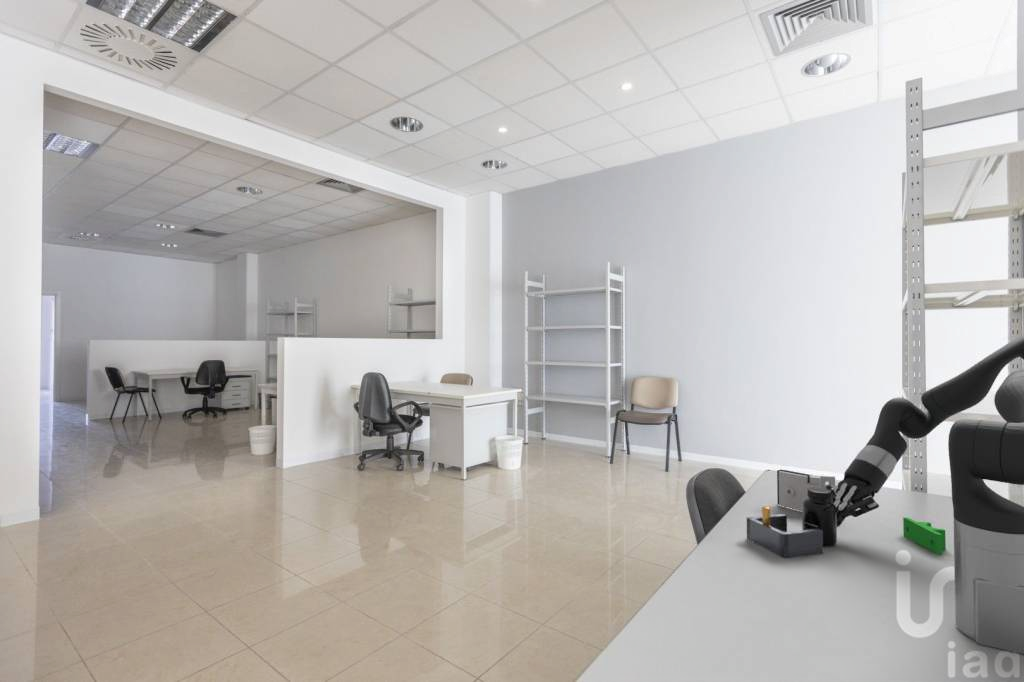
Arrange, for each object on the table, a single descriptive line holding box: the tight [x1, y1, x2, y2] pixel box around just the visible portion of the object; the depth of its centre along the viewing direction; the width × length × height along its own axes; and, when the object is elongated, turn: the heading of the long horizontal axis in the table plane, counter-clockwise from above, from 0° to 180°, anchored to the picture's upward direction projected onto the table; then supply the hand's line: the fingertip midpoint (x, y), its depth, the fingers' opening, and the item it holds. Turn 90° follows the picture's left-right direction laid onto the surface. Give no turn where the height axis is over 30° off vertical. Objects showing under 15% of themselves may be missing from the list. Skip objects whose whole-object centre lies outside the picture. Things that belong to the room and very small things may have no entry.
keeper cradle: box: [746, 505, 824, 559], centre depth 114 cm, size 10×11×9 cm
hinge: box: [776, 469, 836, 512], centre depth 139 cm, size 14×5×10 cm, turn 49°
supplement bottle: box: [801, 487, 838, 547], centre depth 117 cm, size 7×7×12 cm
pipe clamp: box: [902, 516, 947, 556], centre depth 115 cm, size 11×4×5 cm, turn 173°
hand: (830, 524), depth 118 cm, fingers closed
